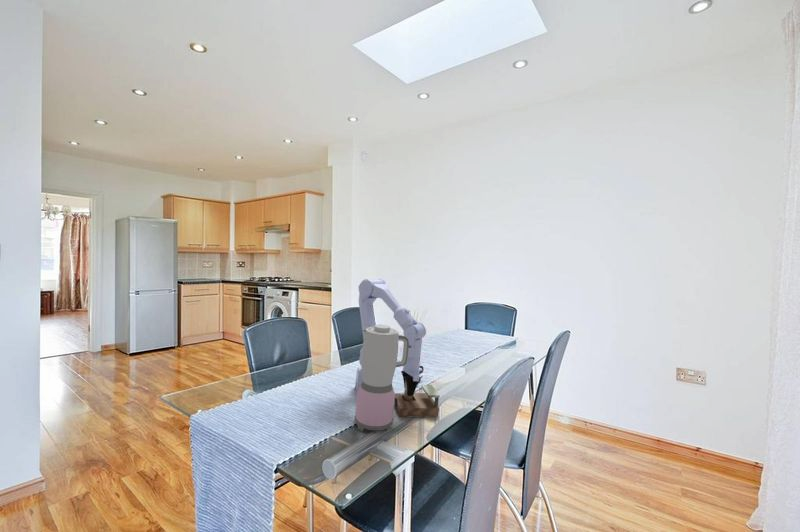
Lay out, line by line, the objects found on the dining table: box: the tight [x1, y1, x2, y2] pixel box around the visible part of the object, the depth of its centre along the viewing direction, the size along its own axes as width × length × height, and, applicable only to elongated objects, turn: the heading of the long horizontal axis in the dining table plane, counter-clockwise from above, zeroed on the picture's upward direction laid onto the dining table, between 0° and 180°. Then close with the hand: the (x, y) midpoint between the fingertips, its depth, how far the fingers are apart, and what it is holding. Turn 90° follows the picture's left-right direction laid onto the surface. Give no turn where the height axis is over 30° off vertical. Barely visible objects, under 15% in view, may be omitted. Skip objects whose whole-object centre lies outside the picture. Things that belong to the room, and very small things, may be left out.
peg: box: [403, 380, 413, 401], centre depth 128 cm, size 3×3×8 cm
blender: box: [354, 324, 409, 432], centre depth 113 cm, size 16×12×32 cm
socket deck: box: [394, 384, 440, 418], centre depth 127 cm, size 14×12×7 cm
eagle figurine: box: [419, 365, 424, 379], centre depth 153 cm, size 8×7×9 cm
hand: (409, 393), depth 129 cm, fingers closed on peg, 3 cm apart
